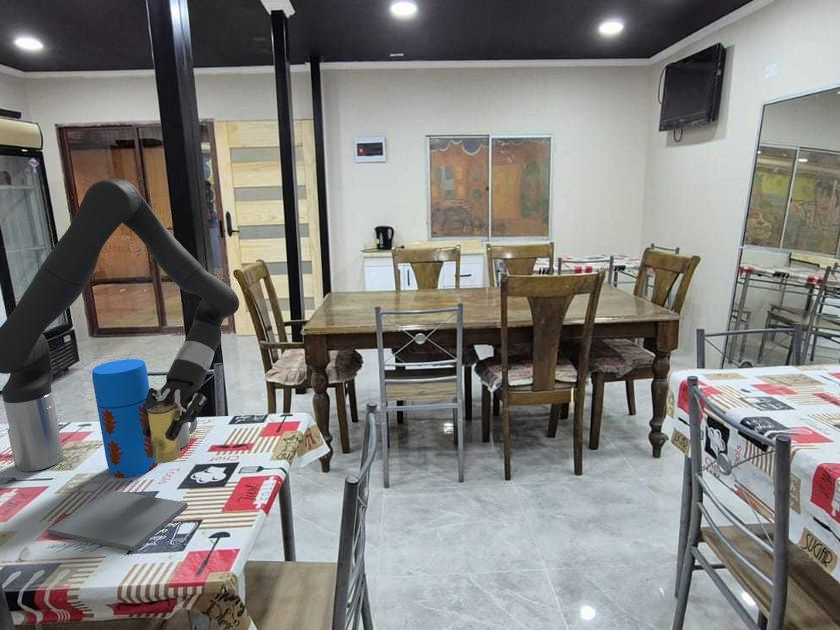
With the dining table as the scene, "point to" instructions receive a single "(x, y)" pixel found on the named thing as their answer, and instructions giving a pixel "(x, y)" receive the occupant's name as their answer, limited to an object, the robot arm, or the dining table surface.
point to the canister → (162, 431)
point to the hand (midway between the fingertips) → (158, 437)
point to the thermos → (124, 416)
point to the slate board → (119, 519)
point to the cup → (186, 433)
